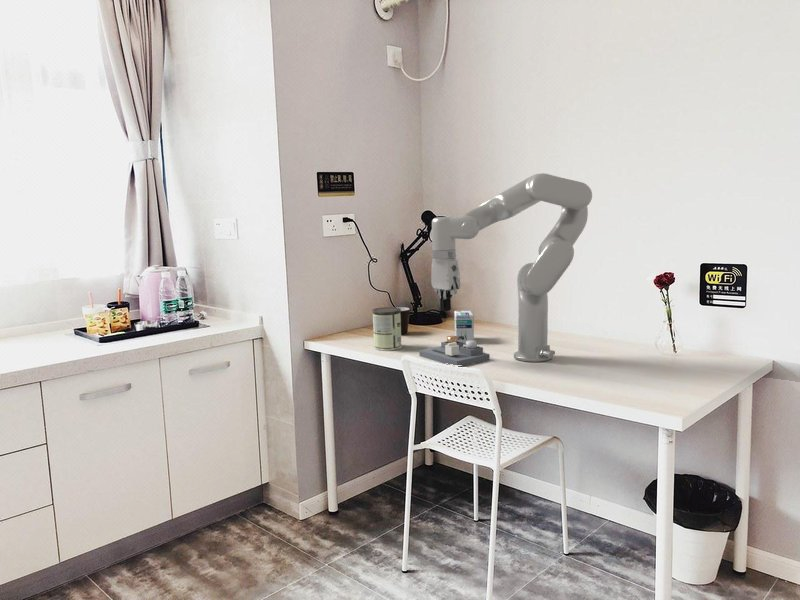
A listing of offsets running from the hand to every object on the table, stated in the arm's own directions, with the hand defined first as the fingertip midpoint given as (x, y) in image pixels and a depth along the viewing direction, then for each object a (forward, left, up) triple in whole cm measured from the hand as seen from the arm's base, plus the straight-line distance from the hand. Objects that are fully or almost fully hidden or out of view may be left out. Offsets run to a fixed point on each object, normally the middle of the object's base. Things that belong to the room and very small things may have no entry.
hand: (445, 310), depth 222 cm
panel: (0, -3, -17) cm, 17 cm away
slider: (-3, 0, -14) cm, 15 cm away
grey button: (-5, -7, -13) cm, 16 cm away
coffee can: (+28, +5, -17) cm, 33 cm away
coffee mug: (+44, -11, -17) cm, 49 cm away
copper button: (+5, -7, -13) cm, 16 cm away
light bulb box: (+18, -23, -17) cm, 34 cm away
